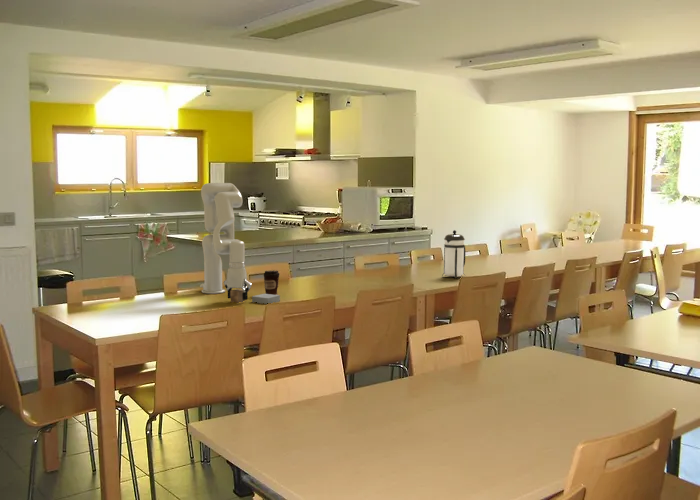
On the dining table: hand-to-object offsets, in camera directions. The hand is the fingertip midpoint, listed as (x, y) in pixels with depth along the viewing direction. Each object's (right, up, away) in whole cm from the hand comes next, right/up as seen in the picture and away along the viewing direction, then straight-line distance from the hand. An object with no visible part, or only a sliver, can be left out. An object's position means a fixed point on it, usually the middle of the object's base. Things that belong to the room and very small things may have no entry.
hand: (237, 298), depth 363 cm
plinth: (+14, -1, +1) cm, 14 cm away
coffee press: (+123, +7, +93) cm, 155 cm away
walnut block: (0, -2, 0) cm, 2 cm away
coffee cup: (+15, +1, +21) cm, 26 cm away
